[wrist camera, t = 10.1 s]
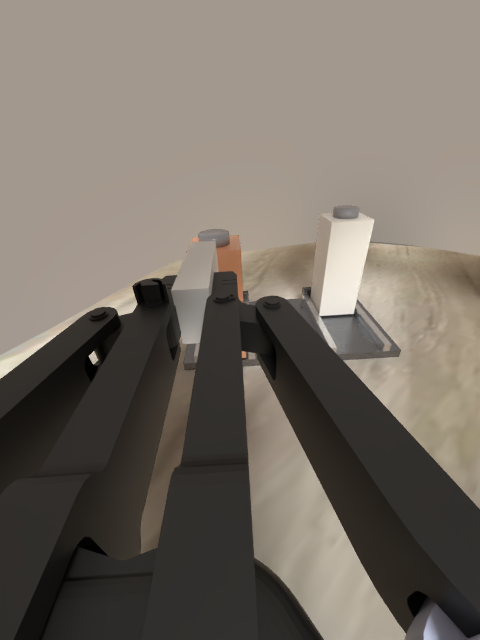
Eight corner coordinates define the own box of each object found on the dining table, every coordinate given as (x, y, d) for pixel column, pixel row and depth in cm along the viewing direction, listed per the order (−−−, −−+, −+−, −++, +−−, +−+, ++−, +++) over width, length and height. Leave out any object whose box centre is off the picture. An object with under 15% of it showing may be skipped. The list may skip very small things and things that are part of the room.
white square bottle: (341, 297, 42) (358, 203, 34) (353, 313, 38) (376, 210, 30) (310, 299, 42) (320, 205, 34) (319, 315, 37) (333, 213, 30)
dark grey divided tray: (352, 300, 43) (356, 284, 42) (398, 356, 31) (406, 336, 30) (197, 310, 43) (194, 294, 42) (184, 369, 31) (180, 350, 30)
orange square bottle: (244, 332, 35) (238, 225, 27) (246, 357, 31) (240, 238, 23) (207, 335, 35) (191, 228, 27) (204, 360, 31) (184, 242, 23)
